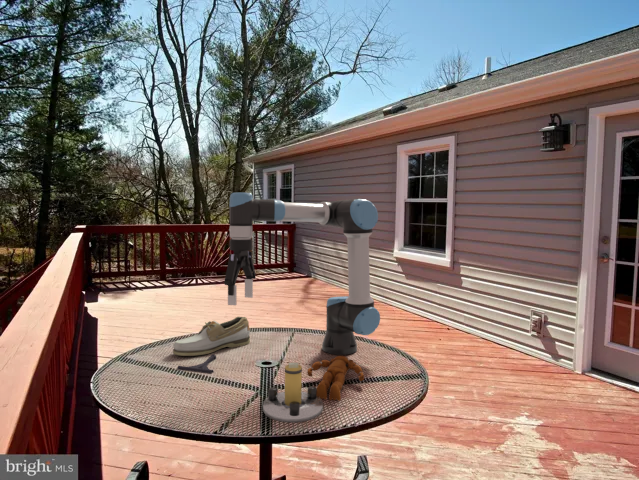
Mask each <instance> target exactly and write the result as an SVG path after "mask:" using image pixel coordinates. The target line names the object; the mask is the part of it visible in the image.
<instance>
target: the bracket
mask: <svg viewBox="0 0 639 480" xmlns="http://www.w3.org/2000/svg"><path fill="white" fill-rule="evenodd" d="M215 360H217V355H216V354H211V355H210V356H209V357H208V358H207V359H206V360H205V361H204V362H202V363H199V364H195V365H190V366H189V365H188V366H185V365H183V366H182V365H178V366H177V368H176V369H177V370H179V369H180V370H181V371H188V372H194V373H195V372H196V373H203V374H212V373H214V371H215V370H213V369H210V368H209V367H208V365H209V364H211V363H213V362H214V361H215Z"/></svg>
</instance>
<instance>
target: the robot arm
mask: <svg viewBox="0 0 639 480" xmlns="http://www.w3.org/2000/svg"><path fill="white" fill-rule="evenodd" d="M228 206H229V207H228V208H229V229H228V231H229V238H230V240H229V250H230V251H233V254H232V253H229V255H228V263H227V268H226V272H225V277H224V281H223V283H224V286H227V306H237V301H238V300H237V299H238V298H237V297H238V296H237V293H238V292H237V290H238V289H237V284H236V283H237V279H238V277H239V274H240V270H241V269H242V270H243V273H244V276H245V279H244V298H247V299H248V298H251V299H253V297H254V296H253V295H254V294H253V292H254V291H253V290H254V287H253V286H254V280H255V279H256V277H257V276H256V271H255V265H254V259H253V252H252V250H253V240H252V238H253V222H290V223H291V222H293V223H294V222H295V223H299V222H300V223H318V224H320V225H321V226H332V227H335V228H336V227H337V228H342V231H343V235H344V236H345V237H346V239H347V240H346V241H347V274H348V275H347V277H348V278H347V281H348V296H345V295H344V296H334V297H329V298H328V299H327V300H326V331H325V335H324V338H323V341H322V344H321V349H322V351H323V352H324V353H326V354H331V355H335V356H336V355H337V356H345V355H346V356H347V355H351V354H355V353H356V352H357V351H358V344H357V341H356V337H355V335H354V333H355V334H357V335H362V336H369V335H371V334H373V333H374V332H375V331H376V330H377V329H378V328H379V325H380V321H381V314H380V311H378V309H377V308H376V307H375V300H374V299H373V297H372V296H371V286H370V285H371V284H370V282H371V278H370V276H371V275H370V236H371V235H372V234H373V228H375V226H376V225H377V223H378V221H379V214H378V213H379V212H378V209H377V208H376V207H377V206H375V205H374V203H373V202H372V201H370V200H367V199H362V198H358V199H342V200H341V199H339V200H335V201H321V202H320V203H309V202H307V203H306V202H289V201H282V200H280V199H275V198H274V199H260V198H259V199H257V198H254V197H253V194H252V193H251V192H243V191H242V192H232V193H230V196H229V204H228Z"/></svg>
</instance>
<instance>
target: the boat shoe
mask: <svg viewBox="0 0 639 480" xmlns="http://www.w3.org/2000/svg"><path fill="white" fill-rule="evenodd" d="M204 324H205V325H203V326H202V327H201V329H200V331H198V333H196V334H195V335H191V336H189V337H184V338H182V339H178V340H176V341H174V343H173V347H172V348H173V350H172V353H173V355H175V356H180V357H181V356H183V357H185V356H188V357H191V356H193V357H194V356H202V355H208V354H211V353H215V352H216V351H219V350H221V349H224V348H226V347H227V348H231V349H232V348H237V347H243V346H247V345H249V344H250V343H251V338H250V333H251V328H250V324H249V320H248V319H247V316H237V317H236V316H235V318H233V319H230V320H228V321H224V322H222V323H219V322H217V321H216V320H212V321H207V322H204Z"/></svg>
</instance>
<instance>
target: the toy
mask: <svg viewBox="0 0 639 480" xmlns="http://www.w3.org/2000/svg"><path fill="white" fill-rule="evenodd" d="M321 367H322V368H327V369H326V371H325V372H324V374H323V376H322V380H321V381H319V384H318V385H317V387H316V388H317V396H318V397H319V398H321V400H327V399H328V398H329V401H332V400H333V401H336V400H337V402H340V401H341V398H342V395H341V391H342V389H343V385H344V384H345V379H346V377H345V376H347V373H348V371H349V370H352V371H353V372H354V373H355V374H356V375H358V376H357V378H358V380H359V382H363V381H364V380H365V374H364V372H363V369H362V367H361V366H360V365H359V364H356V362H354V360H352V359H348V357H347V356H345V355H337V356H335V357H334V358H331V359H330V361H329V360H327V359H322V360H321V361H315V362H314V363H312V364H311V367H309V368H308V369H307V371H306V372H307V375H308V377H313V372H315V371H318V370H319V369H321ZM328 390H329V393H328ZM328 395H329V396H328Z"/></svg>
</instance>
